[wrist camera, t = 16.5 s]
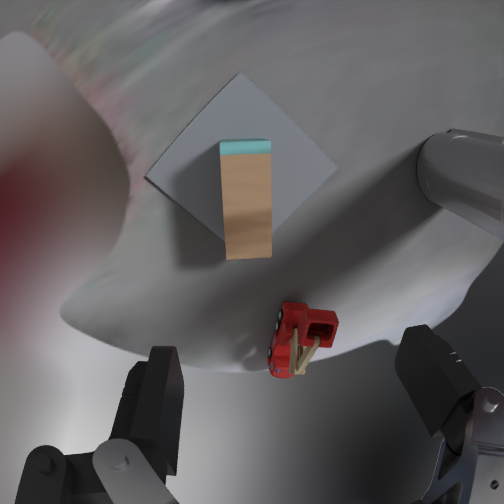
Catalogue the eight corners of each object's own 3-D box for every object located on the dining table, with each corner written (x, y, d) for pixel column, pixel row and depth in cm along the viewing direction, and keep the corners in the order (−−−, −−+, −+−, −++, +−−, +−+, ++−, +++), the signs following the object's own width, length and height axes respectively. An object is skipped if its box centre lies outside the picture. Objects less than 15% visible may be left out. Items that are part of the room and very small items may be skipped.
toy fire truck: (264, 359, 40) (273, 413, 32) (289, 272, 35) (309, 322, 26) (288, 360, 41) (301, 413, 32) (316, 275, 36) (342, 324, 27)
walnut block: (271, 257, 27) (270, 141, 23) (226, 259, 27) (219, 143, 23) (264, 233, 32) (262, 138, 28) (226, 235, 32) (221, 139, 28)
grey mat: (240, 72, 26) (240, 71, 26) (337, 167, 30) (338, 168, 30) (146, 175, 29) (145, 175, 29) (245, 258, 34) (246, 259, 34)
